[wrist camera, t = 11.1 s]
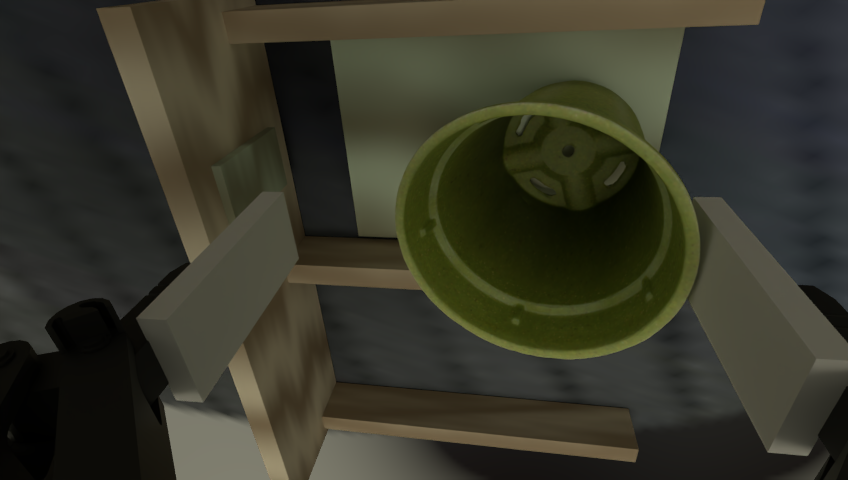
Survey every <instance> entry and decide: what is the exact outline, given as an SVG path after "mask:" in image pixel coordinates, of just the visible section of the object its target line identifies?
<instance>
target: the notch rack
mask: <svg viewBox="0 0 848 480" xmlns="http://www.w3.org/2000/svg"><path fill="white" fill-rule="evenodd" d="M764 3H765V0H350V1H331V2H311V3H292V4H272V5H256V3H255V0H160V1H152V2H144V3H136V4H128V5H120V6H113V7H105V8H97V9H96V10H97V12H98V15H99V18H100V20H101V23H102V26H103V29H104V31H105V34H106V37H107V39H108V42H109V45H110V47H111V50H112V53H113V56H114V58H115V61H116V64H117V66H118V69H119V72H120V75H121V77H122V80H123V83H124V85H125V88H126V91H127V93H128V96H129V99H130V102H131V104H132V107H133V110H134V112H135V115H136V118H137V120H138V123H139V126H140V129H141V131H142V134H143V137H144V139H145V142H146V145H147V148H148V150H149V153H150V156H151V158H152V161H153V164H154V166H155V169H156V172H157V175H158V177H159V180H160V183H161V185H162V188H163V191H164V193H165V196H166V199H167V202H168V204H169V207H170V210H171V212H172V215H173V218H174V221H175V223H176V226H177V229H178V231H179V234H180V237H181V239H182V242H183V245H184V248H185V250H186V253H187V256H188V258H189V261H190V263H192V262H193V261H194V260H195V259H196V258H197V257H198V256H199V255H200V254H201V253H202V252H203V251H204V250H205V249H206V248H207V247H208V246H209V245H210V244H211V243H212V242H213V241H214V240H215V239H216V238H217V237H218V236H219V235H220V234H221V233H222V232H223V231H224V230H225V229H226V228H227V227H228V226H229V225H230V224H231V223H232V222H233V221H234V220H235V219H236V218H237V217H238V216H239V215H240V214H241V213H242V212H243V211H244V210H245V209H246V208H247V207H248V206H249V205H250V204H251V203H252V202H253V201H254V200H255V199H256V198H257V197H258V196H259V195H260V194H261V193H262V192H283V193H284V197H285V201H286V205H287V210H288V214H289V218H290V222H291V227H292V231H293V235H294V240H295V244H296V248H297V252H298V257H299V259H298V261H297V262H296V264H295V265H294V267H293V268H292V270H291V271H290V273H289V274H288V276H287V277H286V279H285V280H284V282H283V283H282V285H281V286H280V288H279V289H278V291H277V292H276V294H275V295H274V297H273V298H272V300H271V301H270V303H269V304H268V306H267V307H266V309H265V310H264V312H263V313H262V315H261V316H260V318H259V319H258V321H257V322H256V324H255V325H254V327H253V328H252V330H251V331H250V333H249V334H248V336H247V337H246V339H245V340H244V342H243V343H242V345H241V346H240V348H239V349H238V351H237V352H236V354H235V355H234V357H233V358H232V360H231V361H230V363H229V364H228V367H229V369H230V372H231V375H232V377H233V380H234V383H235V385H236V388H237V391H238V394H239V396H240V399H241V402H242V404H243V407H244V410H245V412H246V415H247V418H248V421H249V423H250V426H251V429H252V431H253V434H254V437H255V440H256V442H257V445H258V448H259V450H260V453H261V456H262V458H263V461H264V463H265V466H266V469H267V472H268V475H269V477H270V480H308V479H309V477H310V474H311V472H312V469H313V467H314V464H315V462H316V459H317V456H318V454H319V451H320V449H321V446H322V444H323V441H324V439H325V436H326V434H327V431H328V429H335V430H344V431H353V432H362V433H372V434H381V435H390V436H399V437H409V438H418V439H427V440H436V441H445V442H455V443H464V444H474V445H482V446H492V447H501V448H510V449H520V450H528V451H539V452H547V453H556V454H565V455H574V456H585V457H593V458H603V459H611V460H620V461H631V462H635V461H636V457H637V454H638V450H639V449H638V445H637V441H636V437H635V433H634V429H633V425H632V421H631V417H630V413H629V409H626V408H615V407H604V406H593V405H582V404H571V403H560V402H549V401H538V400H527V399H516V398H505V397H494V396H483V395H472V394H461V393H450V392H439V391H428V390H417V389H406V388H395V387H384V386H373V385H362V384H351V383H340V382H336V378H335V374H334V369H333V364H332V360H331V355H330V350H329V346H328V341H327V336H326V331H325V327H324V322H323V317H322V313H321V308H320V303H319V299H318V294H317V289H316V284H323V285H341V286H360V287H378V288H396V289H415V290H422V289H421V288H420V286H419V285H418V283H417V282H416V281H415V279H414V277H413V275H412V274H411V272H410V270H409V269H408V267H407V265H406V262H405V260H404V258H403V255H402V251H401V249H400V245H399V241H398V239H371V238H343V237H316V236H305V233H304V228H303V223H302V219H301V214H300V209H299V205H298V200H297V195H296V190H295V186H294V181H293V176H292V172H291V167H290V162H289V158H288V153H287V148H286V143H285V139H284V134H283V129H282V125H281V120H280V115H279V111H278V106H277V101H276V97H275V92H274V87H273V82H272V78H271V73H270V68H269V64H268V59H267V54H266V50H265V45H264V43H268V42H295V41H322V40H330V43H331V49H332V56H333V63H334V70H335V77H336V84H337V91H338V97H339V104H340V111H341V118H342V125H343V132H344V139H345V145H346V152H347V159H348V166H349V173H350V180H351V187H352V194H353V200H354V207H355V214H356V221H357V228H358V235H359V236H365V237H393V238H397V234H396V226H395V207H396V198H397V192H398V188H399V185H400V182H401V179H402V176H403V174H404V172H405V170H406V167H407V165H408V164H409V162H410V160H411V159H412V157H413V156H414V154H415V153H416V152H417V150H418V149H419V148H420V146H421V145H422V144H423V143H424V142H425V141H426V140H427V139H428V138H429V137H430V136H431V135H433V134H434V133H435V132H436V131H438V130H439V129H440V128H442V127H443V126H445V125H446V124H448V123H449V122H451V121H453V120H455V119H456V118H458V117H460V116H462V115H464V114H467V113H469V112H471V111H474V110H477V109H480V108H483V107H487V106H491V105H495V104H500V103H507V102H516V101H520V100H521V99H523V98H524V97H526V96H527V95H529V94H531V93H532V92H534V91H535V90H537V89H539V88H541V87H544V86H547V85H550V84H554V83H559V82H565V81H573V80H576V81H587V82H591V83H595V84H598V85H601V86H604V87H606V88H608V89H610V90H611V91H613V92H614V93H616V94H617V95H619V96H620V97H621V98H622V99H623V100H624V101H625V102H626V103H627V104H628V105H629V106H630V107H631V108H632V110H633V112H634V113H635V115H636V117H637V119H638V121H639V123H640V125H641V128H642V131H643V134H644V137H645V140H646V141H647V142H648V143H650V144H651V145H652V146H653V147H654V148H655V149H656V150H657V151H658V152H659V150H660V145H661V140H662V135H663V131H664V126H665V121H666V116H667V111H668V107H669V102H670V97H671V92H672V88H673V83H674V78H675V73H676V68H677V64H678V59H679V54H680V49H681V45H682V40H683V35H684V30H685V27H703V26H730V25H758V24H759V21H760V17H761V14H762V10H763V7H764ZM533 116H534V115H524V116H523V117H522V119H521V124H520V125H519V127H518V129H517V130H516V133H517V134H518V136H522V134H523V131H524V129H525V127H526V126H527V124H528V122H529V121H530V120H531V118H532V117H533ZM573 153H574V147H572V146H566V147H565V148H564V149H563V154H564V155H565V156H567V157H569V156H571V155H573ZM625 167H626V166H625V164H624V162H620V164H619V166H618V167H617V169H616V170H615V172H614V173H613V174H612V175H611V176H610V177H609V178H608V179H607V180H606V181H605V183H604V184H605V185H611V184H613V183H614V182H616V181H617V180H618V178H619V177H620V175H621V174H622V173H623V171H624V169H625ZM531 183H532V184H533V185H534V186H535V187H536V188H537V189H539V190H540V191H542V192H544V193H546V194H550V195H554V194H556V191H555V190H554V189H552V188H549V187H547V186H545V185H544V184H542V183H541V182H540V181H538V180H537V179H535V178H532V179H531Z"/></svg>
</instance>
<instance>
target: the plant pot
mask: <svg viewBox="0 0 848 480" xmlns="http://www.w3.org/2000/svg"><path fill="white" fill-rule="evenodd" d="M524 115H534V116H533V117H532V118H531V120H530V121H529V122H528V124H527V126H526V127H525V129H524V131H523V134H522V136H518V134H517V133H516V130H517V129H518V127H519V125H520V124H521V119H522V117H523V116H524ZM566 146H572V147H574V153H573V155H571V156H569V157H567V156H565V155H564V154H563V149H564V148H565V147H566ZM620 162H624V164H625V166H626V167H625V169H624V171H623V173H622V174H621V175H620V177H619V178H618V180H617V181H616V182H614V183H613V184H611V185H605V184H604V183H605V181H606V180H607V179H608V178H609V177H610V176H611V175H612V174H613V173H614V172H615V170H616V169H617V167H618V166H619V164H620ZM532 178H535V179H537V180H538V181H540V182H541V183H542V184H544V185H545V186H547V187H549V188H552V189H554V190H555V191H556V194H554V195H550V194H546V193H544V192H542V191H540V190H539V189H537V188H536V187H535V186H534V185H533V184H532V183H531V179H532ZM395 226H396V234H397V238H398V241H399V245H400V249H401V251H402V255H403V258H404V260H405V262H406V265H407V267H408V269H409V270H410V272H411V274H412V275H413V277H414V279H415V281H416V282H417V283H418V285H419V286H420V288H421V289H422V290H423V291H424V293H425V294H426V295H427V296H428V298H429V299H430V300H431V301H432V302H433V303H434V304H435V305H436V306H437V307H438V308H439V309H440V310H441V311H442V312H444V313H445V314H446V315H447V316H448V317H449V318H451V319H452V320H454V321H455V322H457V323H458V324H460V325H461V326H463V327H464V328H465V329H467V330H468V331H470V332H472V333H474V334H475V335H477V336H479V337H480V338H482V339H484V340H487V341H489V342H491V343H493V344H496V345H498V346H500V347H503V348H506V349H509V350H514V351H517V352H520V353H524V354H529V355H533V356H538V357H546V358H559V359H582V358H592V357H598V356H603V355H607V354H611V353H614V352H618V351H621V350H624V349H626V348H629V347H631V346H634V345H636V344H638V343H640V342H642V341H644V340H646V339H648V338H649V337H651V336H652V335H653V334H655V333H656V332H657V331H659V330H660V329H661V328H662V327H664V326H665V325H666V324H667V323H668V322H669V321H670V320H671V319H672V318H673V317H674V316H675V315H676V314H677V312H678V311H679V310H680V309H681V307H682V306H683V304H684V303H685V301H686V299H687V297H688V296H689V294H690V291H691V289H692V287H693V284H694V282H695V279H696V275H697V272H698V266H699V261H700V233H699V226H698V221H697V216H696V213H695V210H694V206H693V204H692V201H691V198H690V196H689V194H688V192H687V190H686V187H685V186H684V184H683V182H682V180H681V179H680V177H679V176H678V174H677V173H676V172H675V170H674V169H673V167H672V166H671V165H670V164H669V162H668V161H667V160H666V159H665V158H664V157H663V156H662V155H661V154H660V153H659V152H658V151H657V150H656V149H655V148H654V147H653V146H652V145H651V144H650V143H648V142H647V141H646V140H645V137H644V134H643V131H642V128H641V125H640V123H639V121H638V119H637V117H636V115H635V113H634V112H633V110H632V108H631V107H630V106H629V105H628V104H627V103H626V102H625V101H624V100H623V99H622V98H621V97H620V96H619V95H617V94H616V93H614V92H613V91H611V90H610V89H608V88H606V87H604V86H601V85H598V84H595V83H591V82H587V81H576V80H573V81H565V82H559V83H554V84H550V85H547V86H544V87H541V88H539V89H537V90H535V91H534V92H532V93H531V94H529V95H527V96H526V97H524V98H523V99H521V100H520V101H516V102H507V103H500V104H495V105H491V106H487V107H483V108H480V109H477V110H474V111H471V112H469V113H467V114H464V115H462V116H460V117H458V118H456V119H455V120H453V121H451V122H449V123H448V124H446V125H445V126H443V127H442V128H440V129H439V130H438V131H436V132H435V133H434V134H433V135H431V136H430V137H429V138H428V139H427V140H426V141H425V142H424V143H423V144H422V145H421V146H420V148H419V149H418V150H417V152H416V153H415V154H414V156H413V157H412V159H411V160H410V162H409V164H408V165H407V167H406V170H405V172H404V174H403V176H402V179H401V182H400V185H399V188H398V192H397V198H396V207H395Z"/></svg>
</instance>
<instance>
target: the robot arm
mask: <svg viewBox="0 0 848 480" xmlns="http://www.w3.org/2000/svg"><path fill="white" fill-rule="evenodd" d="M692 204H693V206H694V210H695V213H696V216H697V221H698V226H699V233H700V261H699V266H698V272H697V275H696V279H695V282H694V284H693V287H692V289H691V291H690V294H689V296H688V297H687V299H688V300H689V302H690V304H691V306H692V308H693V310H694V312H695V314H696V316H697V318H698V320H699V322H700V323H701V325H702V327H703V329H704V331H705V333H706V335H707V337H708V339H709V341H710V343H711V345H712V347H713V348H714V350H715V352H716V354H717V356H718V358H719V360H720V362H721V364H722V366H723V368H724V370H725V371H726V373H727V375H728V377H729V379H730V381H731V383H732V385H733V387H734V389H735V391H736V393H737V394H738V396H739V398H740V400H741V402H742V404H743V406H744V408H745V410H746V412H747V414H748V416H749V417H750V419H751V421H752V423H753V425H754V427H755V429H756V431H757V433H758V435H759V437H760V439H761V440H762V442H763V444H764V446H765V448H766V450H767V452H770V453H782V454H792V455H804V456H808V455H809V453H810V451H811V449H812V448H813V446H814V444H815V443H816V441H817V439H818V438H820V439H821V441H822V442H823V444H824V445H825V447H826V449H827V450H828V452H829V453H830V456H829V457H828V459H827V461H826V462H825V464H824V465H823V467H822V469H821V470H820V472H819V473H818V475H817V476H816V478H815V479H814V480H848V312H847V311H846V310H845V309H844V308H843V307H842V306H841V305H840V304H839V303H838V302H837V301H836V300H835V299H834V298H832V297H831V296H829V295H828V294H826V293H824V292H823V291H821V290H819V289H818V288H816V287H815V286H808V285H797V284H796V283H795V282H794V281H793V279H792V278H791V277H790V276H789V275H788V274H787V273H786V271H785V270H784V269H783V268H782V267H781V266H780V264H779V263H778V262H777V261H776V260H775V259H774V258H773V256H772V255H771V254H770V253H769V252H768V251H767V250H766V248H765V247H764V246H763V245H762V244H761V243H760V241H759V240H758V239H757V238H756V237H755V236H754V235H753V233H752V232H751V231H750V230H749V229H748V228H747V227H746V225H745V224H744V223H743V222H742V221H741V220H740V218H739V217H738V216H737V215H736V214H735V213H734V212H733V210H732V209H731V208H730V207H729V206H728V205H727V203H726V202H725V201H724V200H723V199H722V198H721V197H694V198H693V202H692ZM298 259H299V257H298V252H297V248H296V244H295V240H294V235H293V231H292V227H291V222H290V218H289V214H288V210H287V205H286V201H285V197H284V193H283V192H262V193H261V194H260V195H259V196H258V197H257V198H256V199H255V200H254V201H253V202H252V203H251V204H250V205H249V206H248V207H247V208H246V209H245V210H244V211H243V212H242V213H241V214H240V215H239V216H238V217H237V218H236V219H235V220H234V221H233V222H232V223H231V224H230V225H229V226H228V227H227V228H226V229H225V230H224V231H223V232H222V233H221V234H220V235H219V236H218V237H217V238H216V239H215V240H214V241H213V242H212V243H211V244H210V245H209V246H208V247H207V248H206V249H205V250H204V251H203V252H202V253H201V254H200V255H199V256H198V257H197V258H196V259H195V260H194V261H193V262H192V263H185V264H184V265H182V266H180V267H178V268H177V269H175V270H173V271H172V272H170V273H169V274H168V275H167V276H166V277H165V278H164V279H163V280H162V281H161V282H160V283H159V284H158V286H155V287H154V288H153V289H152V290H151V291H150V292H149V295H148V296H147V295H146V296H145V297H144V298H143V299H142V300H141V301H140V302H139V303H138V304H137V305H136V306H135V307H134V308H133V309H132V310H131V311H129V312H128V313H127V314H126V315H125V316H124V317H123V318H122V319H121V320H120V319H119V317H118V315H117V314H116V312H115V310H114V308H113V306H112V304H111V302H110V301H109V300H106V299H103V298H93V299H88V300H84V301H80V302H77V303H75V304H72V305H70V306H67V307H66V308H64V309H62V310H61V311H59V312H57V313H56V314H55V315H54V316H53V317H52V318H51V319H49V320H48V322H47V324H46V326H45V329H46V331H47V332H48V334H49V335H50V337H51V339H52V340H53V342H54V343H55V345H56V346H57V348H58V350H59V351H58V352H52V353H46V354H40V355H37V354H36V353H35V351H34V350H33V348H32V347H31V345H30V344H29V343H28V342H26V341H21V340H18V341H9V342H6V343H2V344H0V480H176V474H175V469H174V463H173V457H172V451H171V446H170V440H169V434H168V428H167V423H166V417H165V411H164V405H163V403H162V401H161V399H160V397H159V395H160V394H161V393H162V391H163V390H164V389H165V388H166V386H167V385H169V387H170V389H171V391H172V393H173V395H174V397H175V399H176V400H181V401H192V402H204V400H205V399H206V397H207V396H208V394H209V393H210V391H211V390H212V388H213V387H214V385H215V384H216V382H217V381H218V379H219V378H220V376H221V375H222V373H223V372H224V370H225V369H226V367H227V366H228V364H229V363H230V361H231V360H232V358H233V357H234V355H235V354H236V352H237V351H238V349H239V348H240V346H241V345H242V343H243V342H244V340H245V339H246V337H247V336H248V334H249V333H250V331H251V330H252V328H253V327H254V325H255V324H256V322H257V321H258V319H259V318H260V316H261V315H262V313H263V312H264V310H265V309H266V307H267V306H268V304H269V303H270V301H271V300H272V298H273V297H274V295H275V294H276V292H277V291H278V289H279V288H280V286H281V285H282V283H283V282H284V280H285V279H286V277H287V276H288V274H289V273H290V271H291V270H292V268H293V267H294V265H295V264H296V262H297V261H298Z"/></svg>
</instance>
